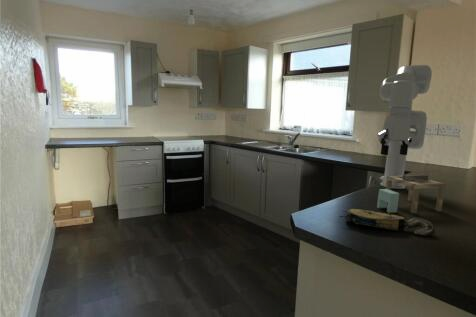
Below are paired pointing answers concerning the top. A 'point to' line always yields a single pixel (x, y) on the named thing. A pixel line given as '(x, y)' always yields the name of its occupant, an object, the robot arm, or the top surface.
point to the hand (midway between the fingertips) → (393, 154)
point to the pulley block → (389, 221)
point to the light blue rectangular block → (388, 200)
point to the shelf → (418, 188)
